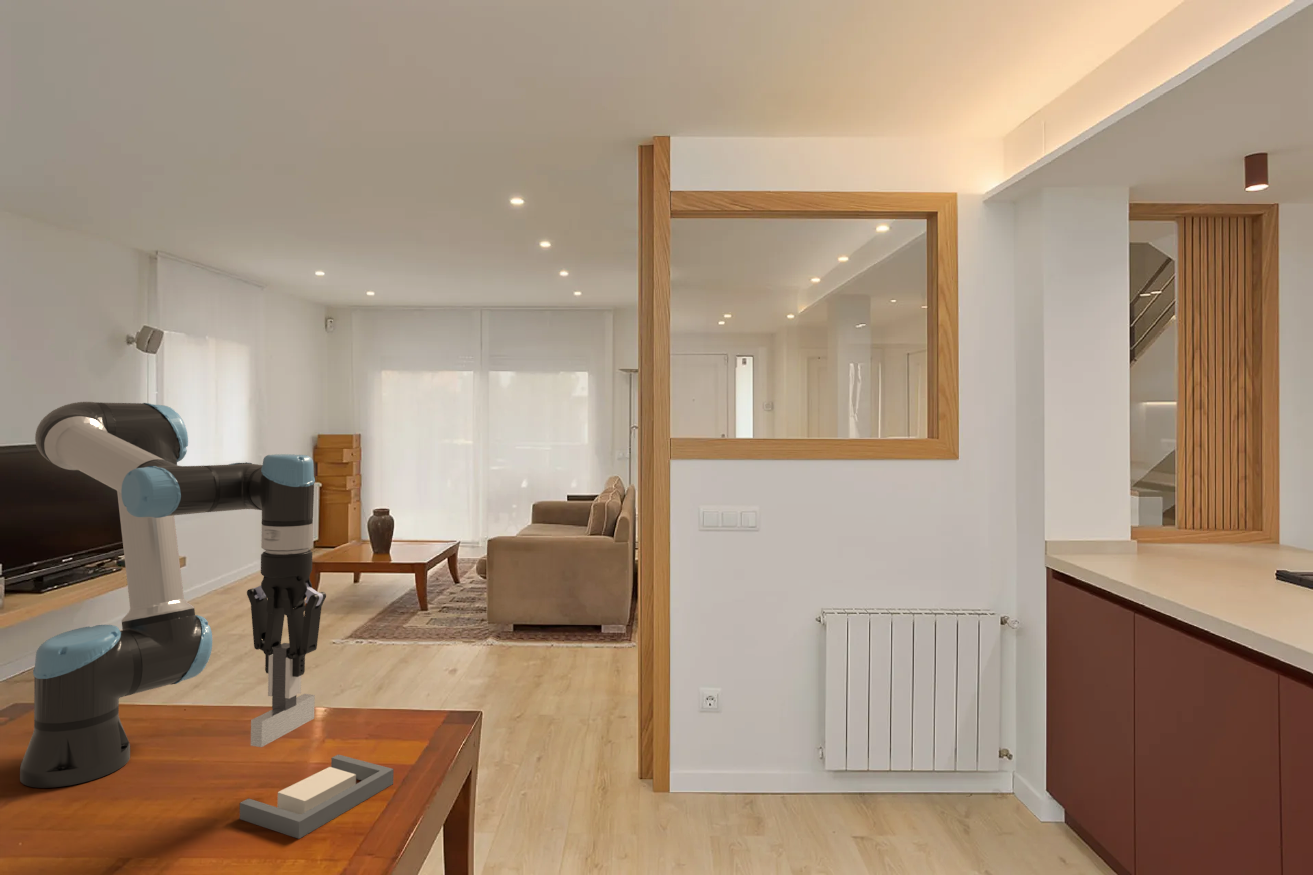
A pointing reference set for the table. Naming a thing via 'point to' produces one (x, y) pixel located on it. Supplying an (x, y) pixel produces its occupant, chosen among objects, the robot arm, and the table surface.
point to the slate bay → (301, 825)
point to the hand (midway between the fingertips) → (284, 693)
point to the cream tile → (315, 790)
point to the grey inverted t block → (281, 706)
